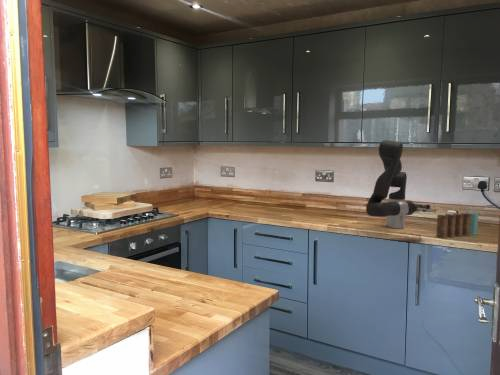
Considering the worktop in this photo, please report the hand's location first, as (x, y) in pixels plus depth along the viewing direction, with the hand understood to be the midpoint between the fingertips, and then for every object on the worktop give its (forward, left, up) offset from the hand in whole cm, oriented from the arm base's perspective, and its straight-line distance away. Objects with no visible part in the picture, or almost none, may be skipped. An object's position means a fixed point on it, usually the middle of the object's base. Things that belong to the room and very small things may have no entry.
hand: (428, 206), depth 218 cm
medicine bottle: (-11, +29, -17) cm, 36 cm away
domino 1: (0, +10, -17) cm, 20 cm away
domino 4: (0, +27, -17) cm, 32 cm away
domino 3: (0, +21, -17) cm, 27 cm away
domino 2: (0, +16, -17) cm, 23 cm away
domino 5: (0, +32, -17) cm, 36 cm away
